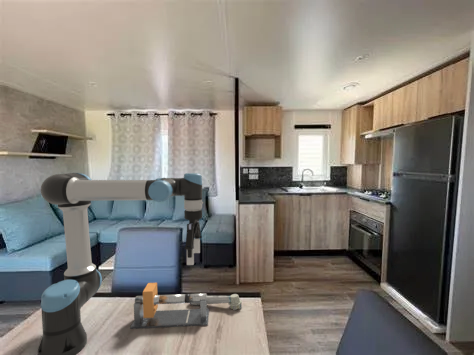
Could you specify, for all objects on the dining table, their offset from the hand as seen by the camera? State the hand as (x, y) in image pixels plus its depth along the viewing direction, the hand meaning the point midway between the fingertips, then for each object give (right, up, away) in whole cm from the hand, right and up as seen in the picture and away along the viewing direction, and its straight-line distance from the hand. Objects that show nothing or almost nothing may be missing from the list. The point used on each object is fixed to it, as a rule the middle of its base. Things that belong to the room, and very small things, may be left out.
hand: (193, 258), depth 109 cm
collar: (-19, -24, +2) cm, 31 cm away
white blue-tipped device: (+8, -27, +13) cm, 31 cm away
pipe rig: (-10, -27, +3) cm, 29 cm away
